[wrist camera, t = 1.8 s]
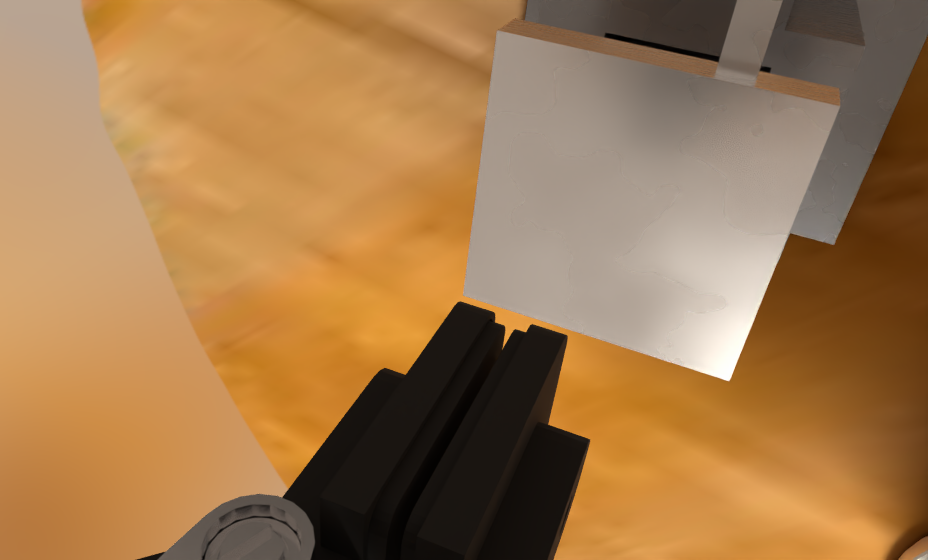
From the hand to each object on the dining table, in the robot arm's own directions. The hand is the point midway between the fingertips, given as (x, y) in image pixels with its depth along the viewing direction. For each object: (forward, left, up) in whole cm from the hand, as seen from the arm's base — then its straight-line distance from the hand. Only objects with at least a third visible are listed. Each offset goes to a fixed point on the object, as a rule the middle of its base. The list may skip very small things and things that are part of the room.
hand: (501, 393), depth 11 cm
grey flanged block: (0, -1, -17) cm, 16 cm away
